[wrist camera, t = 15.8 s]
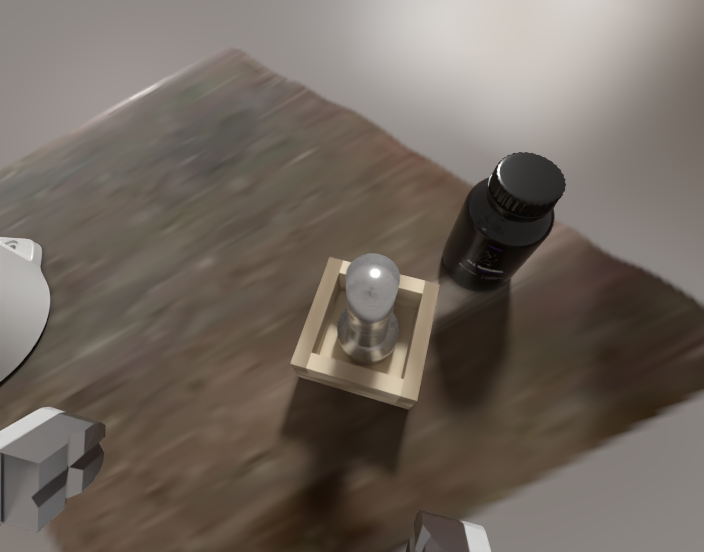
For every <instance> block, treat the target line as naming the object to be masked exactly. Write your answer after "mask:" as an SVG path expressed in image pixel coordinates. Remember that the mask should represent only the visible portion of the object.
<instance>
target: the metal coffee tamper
mask: <svg viewBox="0 0 704 552" xmlns="http://www.w3.org/2000/svg"><path fill="white" fill-rule="evenodd" d="M399 284H400V273H399V270H398V268H397V266H396V265H395V263H394V262H393V261H392V260H390V259H389V258H387V257H385V256H383V255H380V254H365V255H362V256H359V257H358V258H356V259H355V260H353V261H352V262H351V264H350V265H349V266H348V268H347V271H346V295H347V308H346V309H345V310H344V311H343V313H342V314H341V316H340V318H339V321H338V325H337V333H338V340H339V345H340V348H341V350H342V351H343V353H344V354H345V355H346V356H347V357H348V358H349V359H350V360H352V361H353V362H355V363H358V364H361V365H375V364H378V363H380V362H383V361H384V360H386V359H387V358H388V357H389V356H390V355H391V353H392V352H393V350H394V348H395V345H396V342H397V339H398V335H399V325H398V321H397V318H396V316H395V315H394V313H393V308H394V304H395V300H396V296H397V292H398V288H399Z"/></svg>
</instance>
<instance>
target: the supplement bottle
mask: <svg viewBox="0 0 704 552" xmlns="http://www.w3.org/2000/svg"><path fill="white" fill-rule="evenodd" d="M565 186H566V184H565V178H564V175H563V174H562V173H561V170H560V169H559V168H558V167H557V165H555V164H553V162H552V161H550V160H548V159H546V158H545V157H542V156H540V155H536V154H533V153H527V152H525V153H522V152H519V153H513V154H512V155H508V156H507V157H504V158H503V159H502V160H501V161H500V162H499V163H498V165H497V166H496V168H495V170H494V172H493V173H492V174H491V176H490V177H489V178H486V179H484V180H482V181H480V182H479V183H477V184H476V185H475V186H474V187H473V188H472V189H471V191H470V192H469V194H468V196H467V197H466V200H465V202H464V204H463V206H462V208H461V211H460V213H459V215H458V217H457V220H456V222H455V224H454V226H453V229H452V231H451V233H450V235H449V238H448V240H447V242H446V245H445V247H444V251H443V262H444V266H445V268H446V270H447V272H448V274H449V275H450V276H451V278H452V279H453V280H454V281H455V282H457V283H458V284H459V285H461V286H463V287H465V288H467V289H470V290H474V291H480V292H486V291H492V290H495V289H498V288H500V287H501V286H503V285H504V284H505V283H507V282H508V281H509V279H510V278H511V277H512V276H513V275H514V274H515V273H516V272H517V271H518V269H519V268H520V267H521V266H522V265H523V264H524V263H525V262H526V260H527V259H528V258H529V257H530V256H531V255H532V254H533V253H534V251H535V250H536V249H537V248H538V247H539V246H540V245H541V243H542V242H543V241H544V240H545V239H546V238H547V236H548V235H549V234H550V232H551V230H552V228H553V225H554V219H555V214H554V206H555V205H556V203H557V202H558V200H559V199H560V198H561V196H562V195H563V193H564V191H565Z"/></svg>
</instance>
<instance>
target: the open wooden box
mask: <svg viewBox="0 0 704 552" xmlns="http://www.w3.org/2000/svg"><path fill="white" fill-rule="evenodd" d="M350 264H351V262H347V261H343V260H339V259H335V258H331V257H330V258H329V261H328V263H327V266H326V269H325V272H324V274H323V277H322V280H321V282H320V285H319V288H318V290H317V293H316V296H315V299H314V301H313V304H312V307H311V309H310V312H309V315H308V318H307V320H306V323H305V326H304V328H303V331H302V334H301V337H300V339H299V342H298V345H297V347H296V350H295V353H294V355H293V358H292V361H291V365H292V367H293V368H294V370H295V371H296V373H297V375H298V376H299V377H301V378H304V379H308V380H311V381H314V382H318V383H321V384H324V385H328V386H331V387H334V388H338V389H341V390H344V391H348V392H351V393H355V394H358V395H361V396H365V397H368V398H371V399H375V400H378V401H381V402H385V403H388V404H391V405H395V406H398V407H401V408H405V409H408V410H409V409H410V408H411V407H412V406H413V405H414V404H415V403H416V402H417V399H418V394H419V389H420V384H421V379H422V374H423V368H424V363H425V358H426V353H427V348H428V343H429V338H430V333H431V328H432V323H433V317H434V312H435V307H436V302H437V297H438V292H439V287H440V284H436V283H432V282H428V281H424V280H420V279H416V278H412V277H408V276H404V275H400V284H399V288H398V292H397V296H396V300H395V304H394V308H393V313H394V315H395V316H396V318H397V321H398V325H399V335H398V339H397V342H396V345H395V348H394V350H393V352H392V353H391V355H390V356H389V357H388V358H387V359H386V360H384V361H383V362H380V363H378V364H375V365H361V364H358V363H355V362H353V361H352V360H350V359H349V358H348V357H347V356H346V355H345V354H344V353H343V351H342V350H341V348H340V345H339V340H338V333H337V325H338V321H339V318H340V316H341V314H342V313H343V311H344V310H345V309H346V308H347V295H346V271H347V268H348V266H349V265H350Z"/></svg>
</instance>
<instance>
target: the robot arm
mask: <svg viewBox="0 0 704 552" xmlns="http://www.w3.org/2000/svg"><path fill="white" fill-rule="evenodd" d="M41 259H42V249H41V246H40V245H39V244H37V243H35V242H33V241H31V240H29V239H20V238H5V237H0V382H1V381H2V380H3V379H4V378H5V377H7V376H8V375H9V374H10V373H11V372H12V371H13V370H14V369H15V368H16V367H17V366H18V365H19V364H20V363H21V362H22V361H23V360H24V358H25V357H26V356H27V355H28V353H29V352H30V351H31V349H32V348H33V347H34V345H35V344H36V342H37V340H38V339H39V337H40V335H41V333H42V331H43V329H44V326H45V324H46V321H47V317H48V313H49V308H50V293H49V288H48V285H47V282H46V280H45V278H44V276H43V274H42V272H41V268H40V266H41ZM104 437H105V425H104V424H103V423H101V422H99V421H95V420H92V419H89V418H86V417H82V416H79V415H76V414H73V413H69V412H64V411H61V410H58V409H55V408H51V407H44V408H40V409H38V410H37V411H35V412H33V413H31V414H29V415H28V416H26V417H24V418H22V419H21V420H19V421H17V422H15V423H14V424H12V425H10V426H8V427H7V428H5V429H3V430H1V431H0V525H1V523H3V524H6V525H10V526H14V527H18V528H21V529H25V530H29V531H33V532H36V533H38V532H39V531H40V530H41V529H42V528H43V527H44V526H45V525H47V524H48V523H49V522H50V521H51V520H52V519H53V518H54V517H55V516H56V515H58V514H59V513H60V512H61V511H62V510H63V509H64V508H65V505H66V501H67V498H69V497H72V496H74V495H77V494H79V493H81V492H83V491H84V490H85V489H86V488H87V487H88V486H89V485H90V484H91V483H92V482H93V480H94V479H95V477H96V476H97V474H98V473H99V471H100V469H101V466H102V463H103V459H104V451H103V449H102V447H101V445H100V443H99V442H100V441H101V440H102V439H103V438H104ZM414 532H415V535H413V536H412V537H410V538H409V541H408V545H407V549H406V552H491V549H490V546H489V542H488V539H487V535H486V532H485V530H484V528H483V527H482V526H480V525H476V524H472V523H468V522H464V521H459V520H455V519H452V518H448V517H444V516H440V515H437V514H433V513H429V512H425V511H422V510H419V511H418V513H417V515H416V518H415V521H414Z"/></svg>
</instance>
